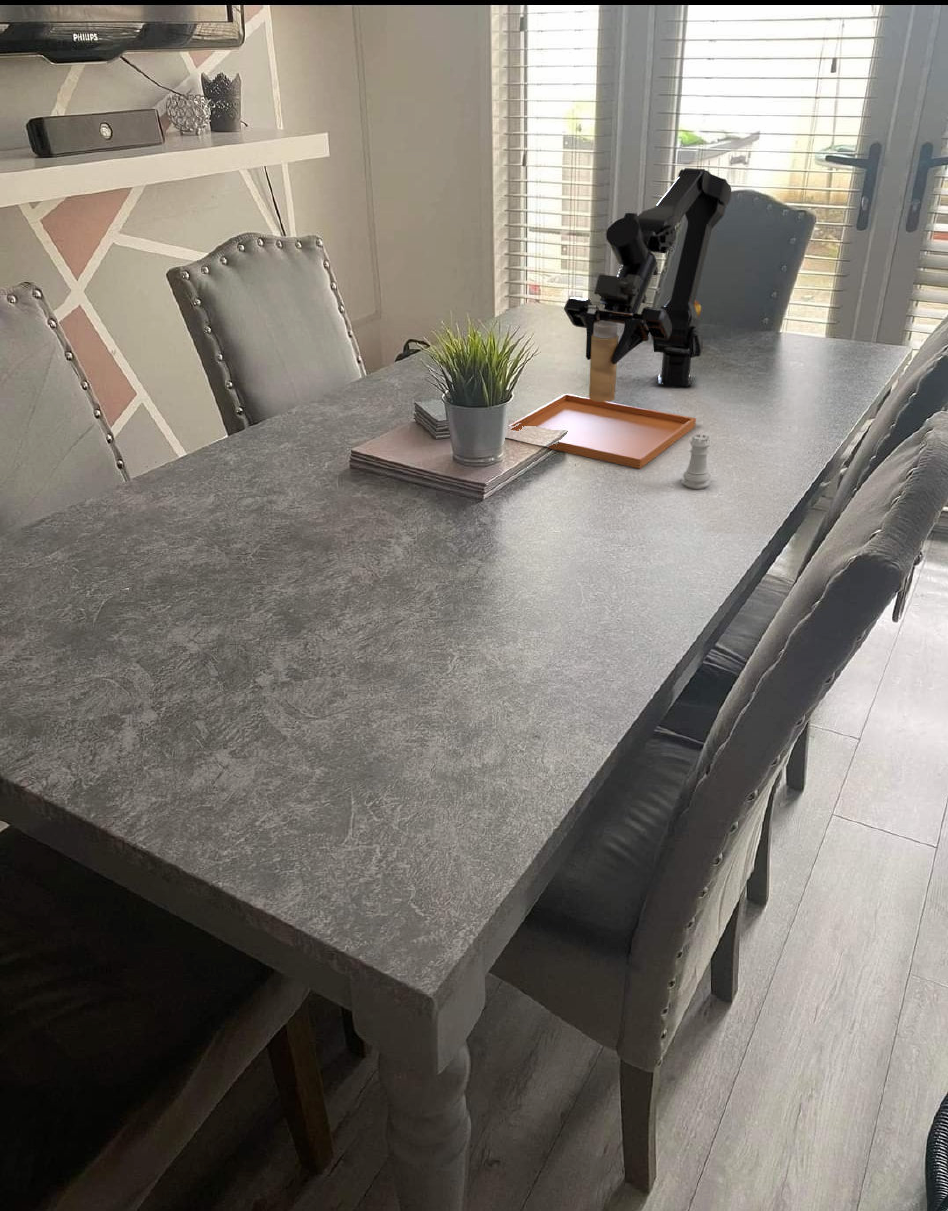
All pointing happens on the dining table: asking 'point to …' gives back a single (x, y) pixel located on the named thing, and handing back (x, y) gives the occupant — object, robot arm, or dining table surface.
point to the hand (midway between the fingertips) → (600, 360)
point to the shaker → (603, 362)
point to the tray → (608, 429)
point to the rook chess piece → (697, 464)
